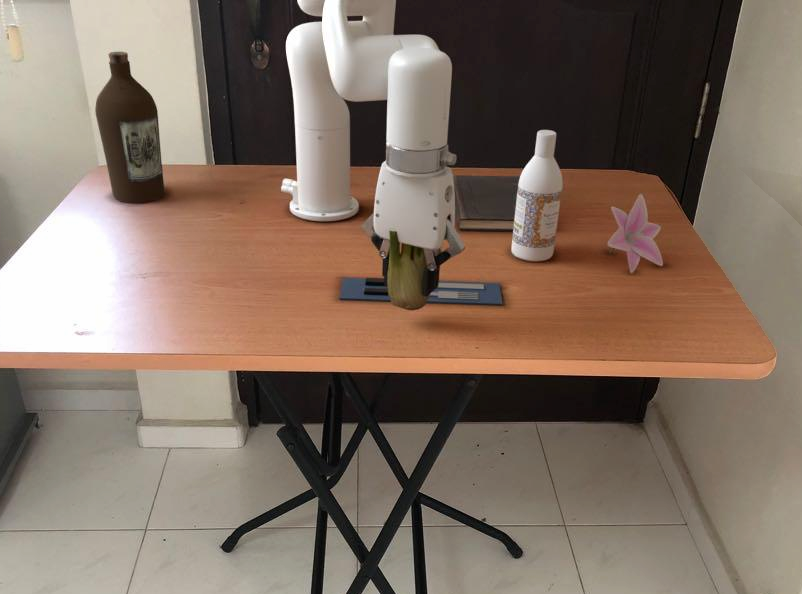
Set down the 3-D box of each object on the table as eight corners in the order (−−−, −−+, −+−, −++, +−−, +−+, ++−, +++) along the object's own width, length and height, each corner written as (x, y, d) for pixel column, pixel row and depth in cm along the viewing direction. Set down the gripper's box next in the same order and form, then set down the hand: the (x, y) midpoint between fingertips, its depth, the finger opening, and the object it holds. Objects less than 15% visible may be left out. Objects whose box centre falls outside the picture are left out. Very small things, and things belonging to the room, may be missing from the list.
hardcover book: (528, 187, 165) (530, 176, 164) (548, 232, 146) (549, 219, 145) (448, 186, 165) (449, 174, 163) (457, 230, 146) (458, 218, 144)
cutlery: (363, 296, 123) (363, 292, 122) (365, 281, 127) (365, 277, 127) (485, 300, 123) (485, 296, 122) (483, 285, 127) (483, 281, 126)
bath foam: (529, 266, 134) (545, 141, 123) (502, 251, 139) (514, 129, 127) (561, 257, 137) (579, 134, 126) (533, 242, 142) (548, 123, 131)
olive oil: (99, 193, 156) (74, 51, 142) (149, 181, 163) (130, 44, 149) (128, 208, 150) (104, 62, 136) (178, 195, 156) (161, 54, 143)
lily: (588, 277, 133) (623, 237, 126) (576, 225, 140) (609, 183, 132) (650, 294, 137) (687, 256, 130) (635, 242, 144) (670, 203, 136)
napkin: (339, 299, 122) (339, 297, 122) (343, 279, 128) (343, 277, 128) (502, 305, 122) (502, 303, 122) (498, 284, 128) (499, 283, 128)
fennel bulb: (385, 311, 114) (387, 229, 107) (391, 295, 118) (393, 215, 111) (427, 315, 113) (432, 233, 106) (431, 299, 117) (436, 218, 110)
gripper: (490, 160, 103) (477, 291, 114) (370, 137, 109) (368, 263, 120) (467, 178, 98) (456, 314, 108) (341, 152, 104) (342, 283, 114)
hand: (409, 286), depth 114 cm, fingers closed on fennel bulb, 5 cm apart
